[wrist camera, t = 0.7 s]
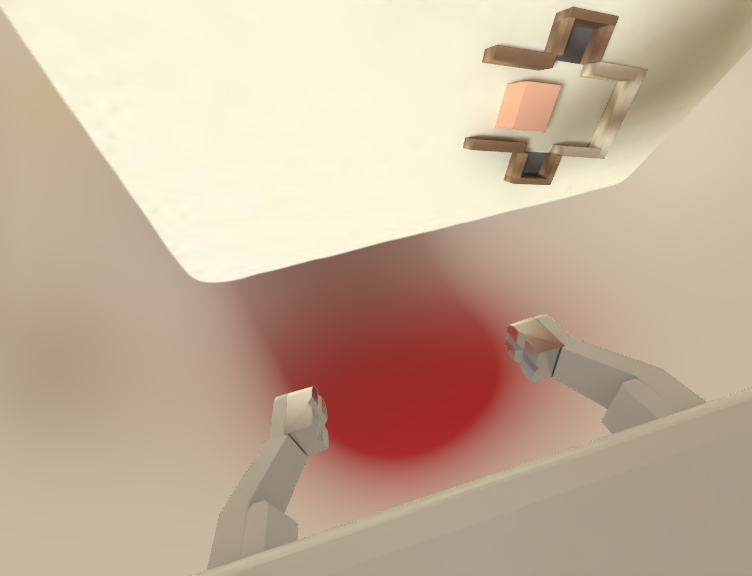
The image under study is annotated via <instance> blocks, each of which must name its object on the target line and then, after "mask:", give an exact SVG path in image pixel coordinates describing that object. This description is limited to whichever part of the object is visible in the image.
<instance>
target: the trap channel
mask: <svg viewBox="0 0 752 576" xmlns="http://www.w3.org/2000/svg"><path fill="white" fill-rule="evenodd" d="M618 18H619V16H615V15H610V14H605V13H600V12H596V11H591V10H586V9H581V8H577V7H571V8H569V9H566V10H564V11H561V12H559V13H556V16H555V19H554V23H553V26H552V29H551V32H550V35H549V38H548V42H547V45H546V48H545V51H544V53H543V52H536V51H530V50H524V49H518V48H512V47H505V46H499V45H496V46H493V47H490V48H487V49H485V52H484V57H483V61H482V62H484V63H490V64H497V65H504V66H511V67H518V68H525V69H532V70H544V69H549V68H553V65H554V62H555V60H558V61H564V62H570V63H577V64H583V65H584V66H583V69H582V71H581V74H580V76H581V77H587V78H594V79H601V80H608V81H615V82H617V84H616V87H615V89H614V91H613V93H612V95H611V98H610V100H609V102H608V104H607V107H606V109H605V111H604V113H603V115H602V118H601V120H600V122H599V124H598V127H597V129H596V131H595V133H594V135H593V138H592V140H591V142H590V144H589V147H577V146H564V145H553V147H552V149H551V152H550V154H547V153H533V152H524V151H525V148H526V145H527V143H520V142H512V141H499V140H486V139H473V138H465V142H464V146H463V148H466V149H470V150H482V151H497V152H512V156H511V159H510V162H509V165H508V168H507V172H506V175H505V178H504V180H505V181H508V182H510V183H513V184H536V185H550V184H551V182H552V179H553V177H554V174H555V172H556V169H557V167H558V165H559V162H560V160H561V157H562V156H572V157H587V158H601V159H604V158H605V156H606V154H607V152H608V150H609V148H610V146H611V144H612V142H613V140H614V138H615V136H616V134H617V132H618V130H619V128H620V125H621V123H622V121H623V119H624V117H625V115H626V113H627V111H628V109H629V107H630V105H631V103H632V101H633V99H634V97H635V95H636V93H637V91H638V89H639V87H640V85H641V83H642V80H643V78H644V76H645V74H646V72H647V70H648V69H642V68H635V67H629V66H623V65H617V64H611V63H605V62H601V59H602V57H603V54H604V52H605V50H606V47H607V45H608V42H609V40H610V37H611V35H612V32H613V30H614V28H615V25H616V23H617V20H618Z"/></svg>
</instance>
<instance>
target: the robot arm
mask: <svg viewBox="0 0 752 576" xmlns="http://www.w3.org/2000/svg"><path fill="white" fill-rule="evenodd" d="M507 332H508V334H509V335H508V337H507V338H506V342H505V345H506V348H507V351H508V353H509V355H510V356H511V358H512V359H513V360H514V361H516V362H518V363H521V370H522V371H523V373H524V374H525V375H526V376H527V377H528V378H529V380H530V381H531V382H532V383H533V382H537V381H540V380H543V379H546V378H550V377H553V379H555V380H557V381H559V382H560V383H562V384H564V385H566V386H568V387H569V388H571V389H573V390H575V391H577V392H579V393H580V394H582V395H584V396H585V397H587V398H589V399H591V400H593V401H595V402H596V403H598V404H600V405H602V406H603V407H605V408H607V411H606V413H605V415H604V416H603V418H602V423H603V424H604V425H605V426H606V428H607V429H608V430H609V431H610V432H611V433H612V434H611V435H608V436H605V437H602V438H599V439H596V440H593V441H590V442H587V443H584V444H581V445H578V446H576V447H572V448H569V449H566V450H563V451H560V452H557V453H554V454H552V455H549V456H546V457H543V458H540V459H537V460H534V461H531V462H528V463H525V464H522V465H519V466H516V467H513V468H510V469H507V470H504V471H501V472H498V473H495V474H492V475H489V476H486V477H483V478H480V479H477V480H474V481H471V482H468V483H465V484H462V485H459V486H456V487H453V488H451V489H448V490H444V491H442V492H439V493H436V494H433V495H430V496H427V497H424V498H421V499H418V500H415V501H412V502H409V503H406V504H403V505H400V506H397V507H394V508H391V509H388V510H385V511H382V512H379V513H376V514H373V515H370V516H367V517H364V518H361V519H359V520H355V521H352V522H349V523H347V524H344V525H341V526H337V527H334V528H332V529H329V530H325V531H322V532H319V533H316V534H314V535H311V536H308V537H305V538H302V539H299V540H298V524H297V522H296V521H295V520H293V519H292V518H290V517H289V516H287V515H286V514H284V513H285V510H286V508H287V506H288V504H289V501H290V498H291V496H292V494H293V491H294V489H295V487H296V484H297V482H298V479H299V477H300V475H301V472H302V470H303V468H304V465H305V463H306V460H307V458H308V457H307V456H308V455H312V454H314V453H317V452H320V451H322V450H325V449H328V448H329V445H328V430H327V429H326V427H325V426H324V424H325V423H326V421H327V412H326V407H325V403H324V401H323V399H322V397H321V396H318V391H317V389H316V387H315V386H313V387H309V388H306V389H303V390H299V391H295V392H292V393H288V394H285V395H282V396H278V397H276V399H275V401H274V406H273V415H272V422H271V430H270V439H269V440H268V441H266V442H265V443H264V444H263V446H262V448H261V449H260V451H259V452H258V454H257V456H256V457H255V459H254V460H253V462H252V463H251V465H250V466H249V468H248V470H247V471H246V473H245V474H244V476H243V478H242V479H241V481H240V482H239V484H238V486H237V487H236V489H235V490H234V492H233V493H232V495H231V497H230V498H229V500H228V501H227V503H226V504H225V506H224V507H223V509H222V511H221V512H220V514H219V519H218V523H217V528H216V532H215V537H214V541H213V545H212V550H211V554H210V559H209V563H208V568H207V570H206V571H203V572H200V573H198V574H195V575H192V576H752V387H751V388H748V389H745V390H742V391H739V392H736V393H733V394H730V395H727V396H724V397H721V398H718V399H715V400H712V401H709V402H706V401H705V400H703V399H702V398H701V397H699V396H698V395H696V394H695V393H694V392H693V391H691V390H690V389H689V388H687V387H686V386H685V385H683V384H682V383H681V382H679V381H678V380H677V379H675V378H674V377H673V376H671V375H670V374H669V373H667V372H666V371H665V370H663V369H661V368H659V367H656V366H653V365H650V364H647V363H644V362H641V361H639V360H636V359H633V358H630V357H627V356H624V355H621V354H619V353H616V352H613V351H610V350H607V349H604V348H602V347H599V346H596V345H593V344H590V343H587V342H585V341H579V342H578V341H577V340H576V339H575V338H574V337H572V336H571V335H570V334H569V333H568V332H567V331H566V330H564V329H563V328H562V327H561V326H560V325H559V324H557V323H556V322H555V321H554V320H553V319H552V318H551V317H549V316H548V315H546V314H542V315H539V316H536V317H533V318H528V319H525V320H522V321H519V322H516V323H513V324H510V325H509V326H508V327H507Z"/></svg>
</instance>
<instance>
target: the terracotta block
mask: <svg viewBox="0 0 752 576" xmlns="http://www.w3.org/2000/svg"><path fill="white" fill-rule="evenodd" d="M560 89H561V85H553V84H546V83H538V82H531V81H524V82H517V83H509V84H507V85H506V89H505V93H504V96H503V100H502V104H501V107H500V111H499V115H498V119H497V122H496V126H495V128H505V129H517V130H528V131H539V132H545V130H546V128H547V125H548V122H549V119H550V116H551V114H552V111H553V108H554V105H555V103H556V100H557V97H558V94H559V91H560Z"/></svg>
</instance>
